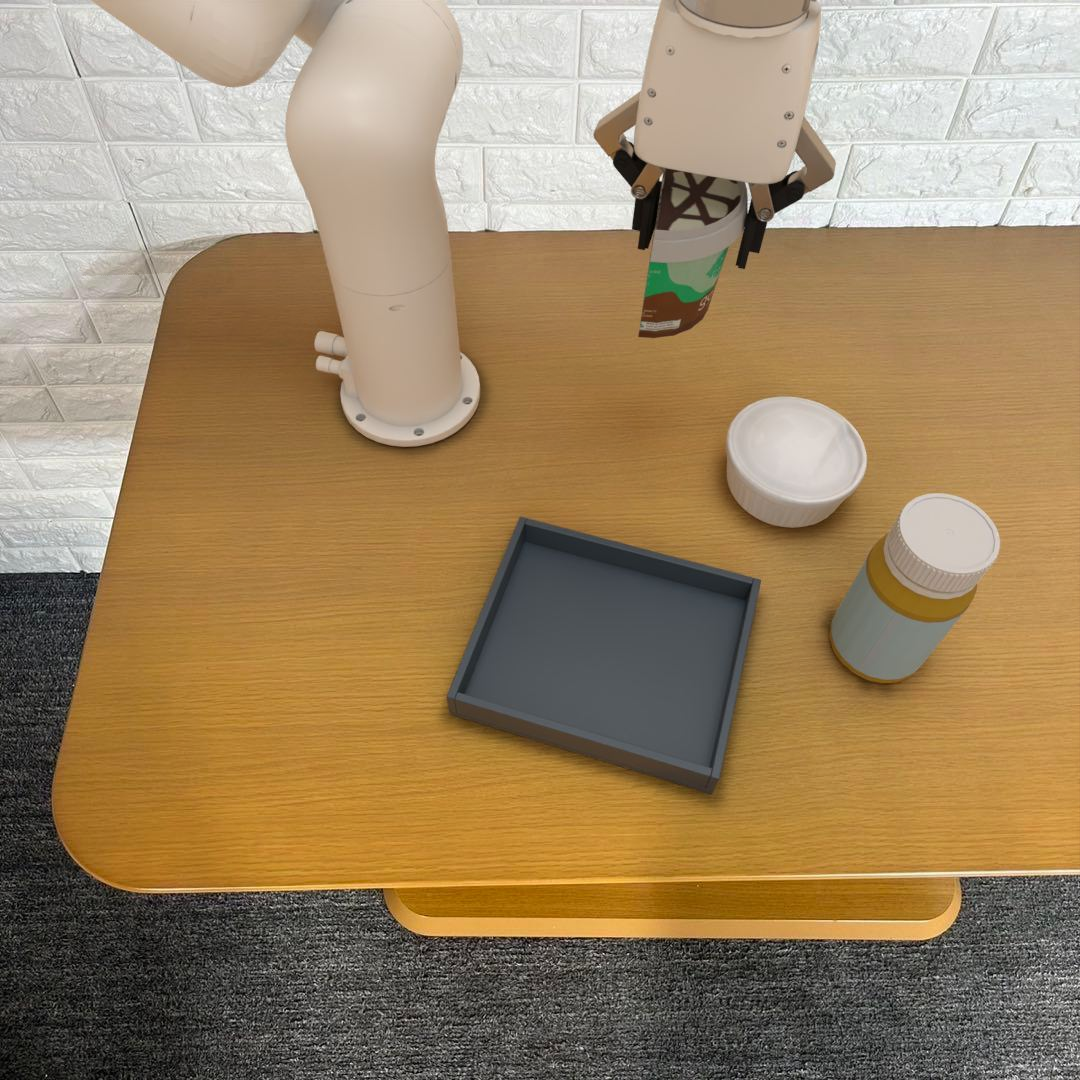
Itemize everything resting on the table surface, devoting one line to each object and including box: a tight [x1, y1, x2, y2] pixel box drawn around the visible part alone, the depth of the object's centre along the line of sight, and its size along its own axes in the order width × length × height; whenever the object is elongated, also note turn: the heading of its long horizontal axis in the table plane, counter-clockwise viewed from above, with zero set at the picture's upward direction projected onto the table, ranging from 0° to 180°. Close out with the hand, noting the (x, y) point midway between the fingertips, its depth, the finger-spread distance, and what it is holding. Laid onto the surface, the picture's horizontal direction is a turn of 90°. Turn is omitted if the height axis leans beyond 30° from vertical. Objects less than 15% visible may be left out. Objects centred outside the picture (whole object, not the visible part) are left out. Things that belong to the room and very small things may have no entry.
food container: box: [638, 168, 749, 339], centre depth 64 cm, size 12×6×10 cm, turn 171°
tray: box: [446, 516, 762, 795], centre depth 66 cm, size 19×16×3 cm
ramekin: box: [725, 396, 868, 529], centre depth 74 cm, size 11×11×5 cm
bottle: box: [829, 492, 1001, 684], centre depth 62 cm, size 7×7×15 cm
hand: (694, 245), depth 64 cm, fingers closed on food container, 6 cm apart
